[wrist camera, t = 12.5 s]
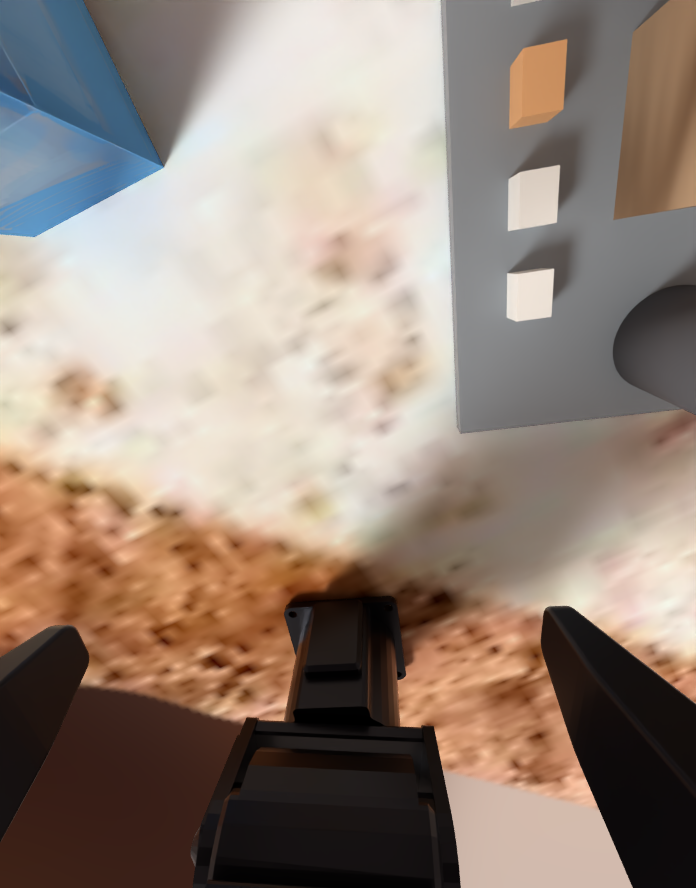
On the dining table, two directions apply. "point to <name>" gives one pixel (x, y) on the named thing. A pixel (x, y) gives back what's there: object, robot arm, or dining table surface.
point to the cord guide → (661, 346)
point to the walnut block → (660, 115)
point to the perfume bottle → (62, 118)
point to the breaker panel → (546, 211)
